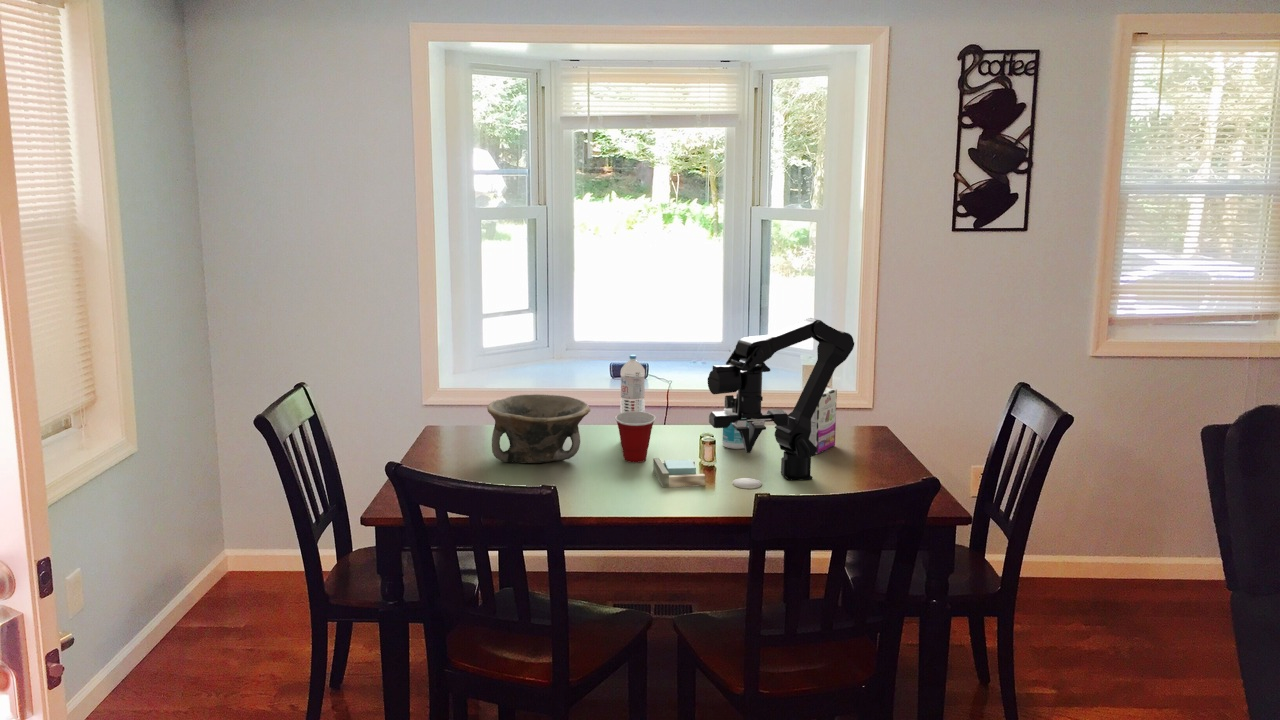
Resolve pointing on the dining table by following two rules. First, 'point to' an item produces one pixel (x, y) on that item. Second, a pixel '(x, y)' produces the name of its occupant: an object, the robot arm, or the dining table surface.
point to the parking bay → (675, 476)
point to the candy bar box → (824, 421)
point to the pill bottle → (732, 434)
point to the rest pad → (746, 483)
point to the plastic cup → (635, 434)
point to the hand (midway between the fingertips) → (748, 452)
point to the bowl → (536, 427)
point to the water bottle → (632, 386)
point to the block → (680, 467)
